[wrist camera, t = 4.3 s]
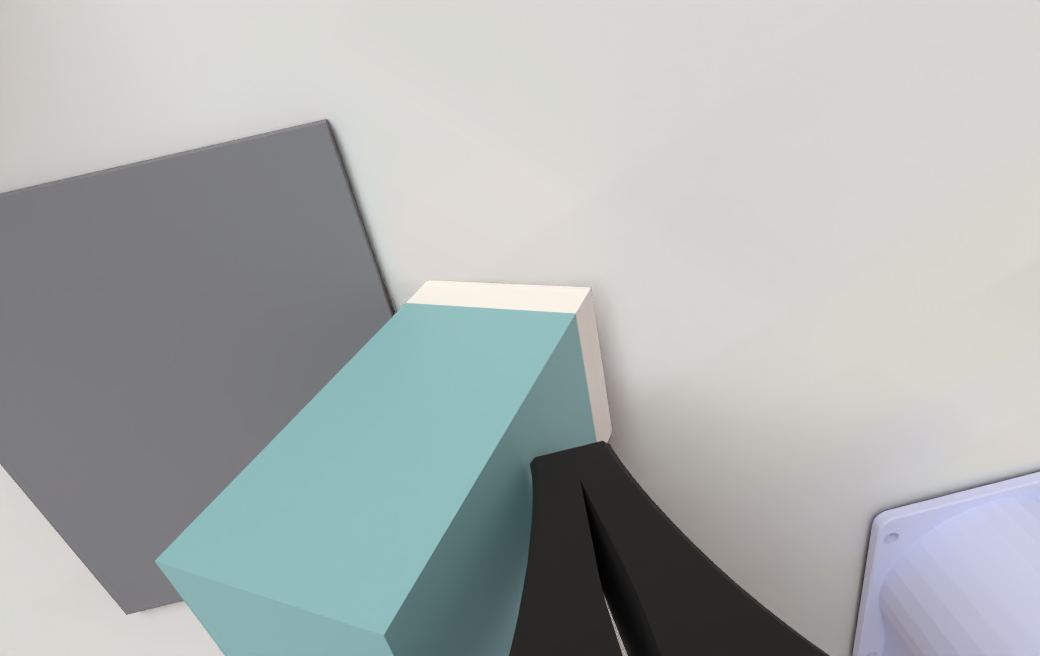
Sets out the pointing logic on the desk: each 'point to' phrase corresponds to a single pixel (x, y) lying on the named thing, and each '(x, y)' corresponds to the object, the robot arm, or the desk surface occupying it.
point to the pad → (172, 335)
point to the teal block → (403, 484)
